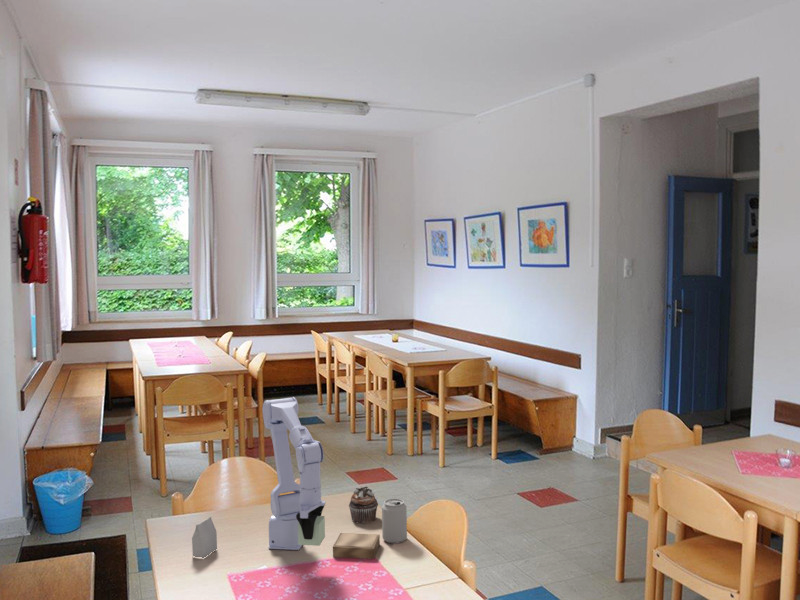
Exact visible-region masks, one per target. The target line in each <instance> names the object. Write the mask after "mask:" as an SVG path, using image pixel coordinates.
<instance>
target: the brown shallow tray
mask: <svg viewBox="0 0 800 600" xmlns="http://www.w3.org/2000/svg"><path fill="white" fill-rule="evenodd" d="M380 537H381V536H380V534H374V533H373V534H371V533H369V534H368V533H347V532H340V533H339V535H338V536H337V539H336V540H335V542H334V544H333V546H332V557H333V558H350V559H369V560H370V559H373V560H374V559H375V557H376V554H377V552H378V549H379V547H380V544H381V543H380V542H381V540H380Z"/></svg>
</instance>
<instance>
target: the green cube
mask: <svg viewBox="0 0 800 600" xmlns="http://www.w3.org/2000/svg"><path fill="white" fill-rule="evenodd" d="M325 523H326V520H325V515H321V516H317V518H316V521H315V524H314V532H313V537H312V539H311V540H309V539H304V536H303V532H302V528H301V526H300V523H298V545H302V546H315V547H316V546H318V547H320V546H321V545H322V543H323V542H324V539H325V537H326V529H325V528H326V526H325V525H326V524H325Z"/></svg>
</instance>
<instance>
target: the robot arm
mask: <svg viewBox="0 0 800 600" xmlns="http://www.w3.org/2000/svg"><path fill="white" fill-rule="evenodd" d="M261 410H262V418H263V424H264V428H265V429H268V430H270V434H271V435H270V436H271V441H272V446H273V454H274V462H275V469H276V475H277V485H276V486H275V487H273V489H272V490H271V492H270V511H271V514H272V515H271V516H270V518H269V521H268V549H269V550H270V549H271V550H286V551H287V550H289V551H291V550H292V551H299V550H300V549H301V548H302V546H303V545H298V523H300V526H301V528H302V532H303V536H304V539H309V540H311V539H312V537H313V532H314V524H315V521H316V518H317V516H322V513H323V511H324V508H325V506H326V501H325V500H322V488H321V487H322V481H321V476H322V475H321V463H323V461H324V457H325V456H324V455H325V454H324V448H323V446H322V443H321V442H320V441H318V440H316V439H314V438H313V436H312V434H311V432H310V431H309V430H308V427H306V426H305V425H302V424H301V422H300V419H299V416H298V415H299V410H300V407H299V403H298V400H297V398H295V397H294V396H292V397H285V398H280V399H279V398H277V399H266V400H264V402H263V404H262V409H261ZM288 431H289V434H288ZM289 440H290V442H291V444H292V446H293V448H294V450H295V457H296V463H297V470H298V472H299V483H297V482H296V481H295V478H294V476H295V475H294V469H293V464H292V463H293V462H292V457H291V450H290V443H289Z"/></svg>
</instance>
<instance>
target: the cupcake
mask: <svg viewBox="0 0 800 600" xmlns="http://www.w3.org/2000/svg"><path fill="white" fill-rule="evenodd" d="M368 487H369V486H364V487H360V488H358V487H356V488H355V489H353V491H352V492H353V494H352V495H351V497H350V502H349V504H348V508H349V512H350V516H351V517H350V518H351V520H353V521H352V522H354V521H355V522H354V523H356V522H358V523H357V524H368V523H367V522H369V523H371V521H372V522H374V521H376V516H377V512H378V511H377V510H378V507H379V503H378V500H377V498H376V496H375V492H374V491H373V489H371V488H368Z"/></svg>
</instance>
